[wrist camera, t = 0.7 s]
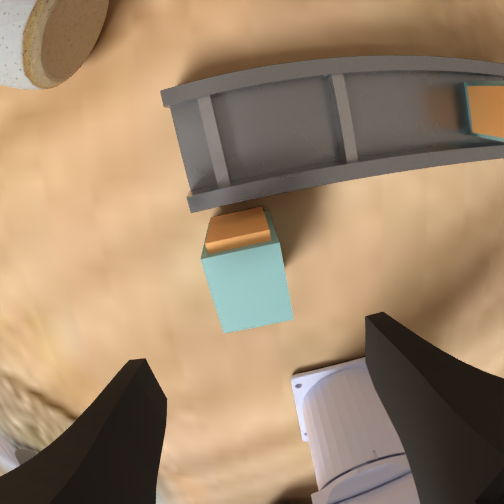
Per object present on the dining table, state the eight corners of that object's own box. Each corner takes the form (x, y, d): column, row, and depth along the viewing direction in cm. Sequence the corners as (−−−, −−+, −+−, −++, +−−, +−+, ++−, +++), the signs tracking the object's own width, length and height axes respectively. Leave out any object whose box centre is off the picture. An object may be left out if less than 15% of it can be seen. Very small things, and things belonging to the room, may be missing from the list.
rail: (507, 148, 17) (532, 155, 14) (197, 199, 18) (191, 213, 15) (498, 68, 15) (523, 67, 12) (171, 95, 15) (160, 91, 13)
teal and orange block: (266, 201, 18) (277, 231, 13) (280, 272, 20) (293, 319, 15) (207, 214, 18) (197, 248, 14) (225, 283, 20) (223, 333, 15)
